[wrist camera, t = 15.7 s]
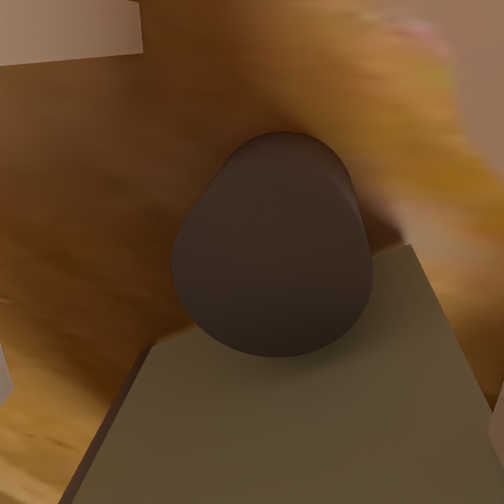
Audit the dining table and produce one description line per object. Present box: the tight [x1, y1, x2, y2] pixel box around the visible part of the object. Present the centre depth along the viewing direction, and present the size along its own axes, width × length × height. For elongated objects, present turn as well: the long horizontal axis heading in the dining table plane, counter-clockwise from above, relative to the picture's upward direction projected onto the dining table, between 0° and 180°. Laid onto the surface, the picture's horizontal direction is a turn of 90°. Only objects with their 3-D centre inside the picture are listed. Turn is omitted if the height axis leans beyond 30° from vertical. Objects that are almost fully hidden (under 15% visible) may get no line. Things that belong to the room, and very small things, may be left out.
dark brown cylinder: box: [171, 132, 373, 358], centre depth 19 cm, size 7×7×8 cm
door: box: [58, 244, 504, 504], centre depth 16 cm, size 1×17×18 cm, turn 119°
